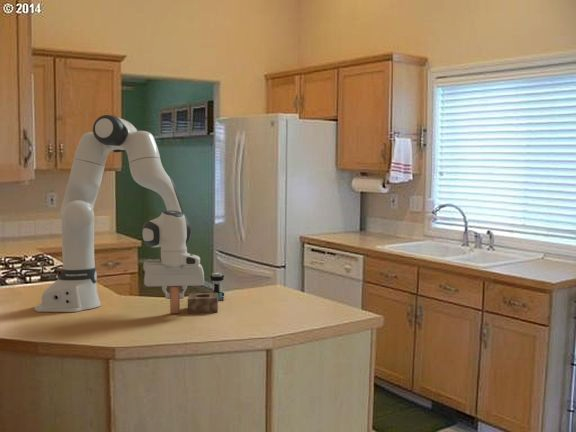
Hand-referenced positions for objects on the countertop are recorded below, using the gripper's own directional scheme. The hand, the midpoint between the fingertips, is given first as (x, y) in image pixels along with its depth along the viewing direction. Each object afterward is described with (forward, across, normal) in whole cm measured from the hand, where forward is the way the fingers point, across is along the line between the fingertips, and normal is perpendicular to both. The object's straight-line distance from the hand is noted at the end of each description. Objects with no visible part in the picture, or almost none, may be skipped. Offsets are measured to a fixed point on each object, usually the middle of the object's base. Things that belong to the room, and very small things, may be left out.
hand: (174, 298), depth 214 cm
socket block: (+5, +9, +4) cm, 12 cm away
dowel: (+5, 0, 0) cm, 5 cm away
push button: (+5, +14, +22) cm, 26 cm away
